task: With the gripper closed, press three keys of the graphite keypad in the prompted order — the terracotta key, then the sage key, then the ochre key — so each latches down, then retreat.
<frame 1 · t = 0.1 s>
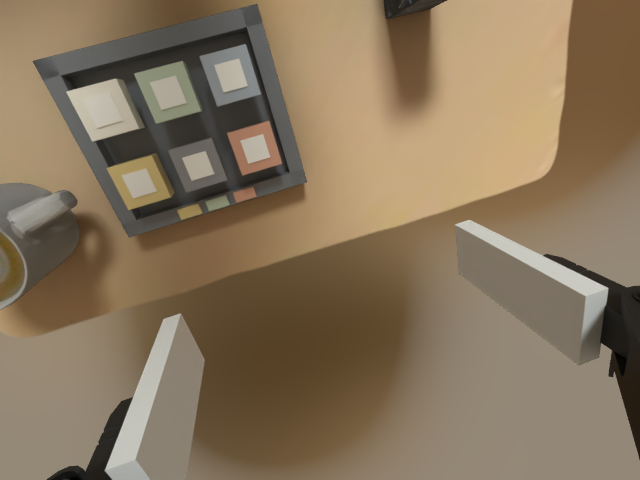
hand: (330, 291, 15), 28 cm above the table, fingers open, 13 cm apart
key sage: (170, 93, 32), point 4 cm above the table, slide at 0.0 cm
keypad board: (191, 128, 37), on the table
key ochre: (142, 181, 34), point 4 cm above the table, slide at 0.0 cm
coffee mug: (44, 220, 37), on the table
key cream: (107, 110, 31), point 4 cm above the table, slide at 0.0 cm
key charcoal: (199, 164, 35), point 4 cm above the table, slide at 0.0 cm
key terracotta: (255, 148, 35), point 4 cm above the table, slide at 0.0 cm
key slate: (231, 76, 32), point 4 cm above the table, slide at 0.0 cm
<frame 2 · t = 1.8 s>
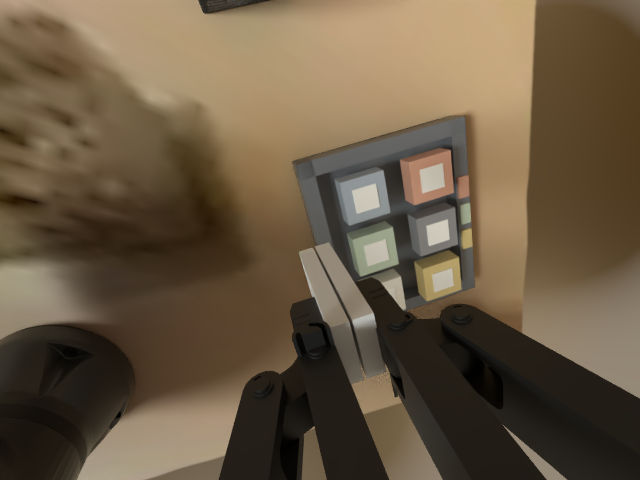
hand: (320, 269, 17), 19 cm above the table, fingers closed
key sage: (373, 249, 35), point 4 cm above the table, slide at 0.0 cm
keypad board: (388, 227, 39), on the table
key ochre: (438, 276, 38), point 4 cm above the table, slide at 0.0 cm
key cream: (382, 295, 38), point 4 cm above the table, slide at 0.0 cm
key charcoal: (433, 229, 36), point 4 cm above the table, slide at 0.0 cm
key terracotta: (427, 176, 34), point 4 cm above the table, slide at 0.0 cm
key slate: (362, 196, 33), point 4 cm above the table, slide at 0.0 cm
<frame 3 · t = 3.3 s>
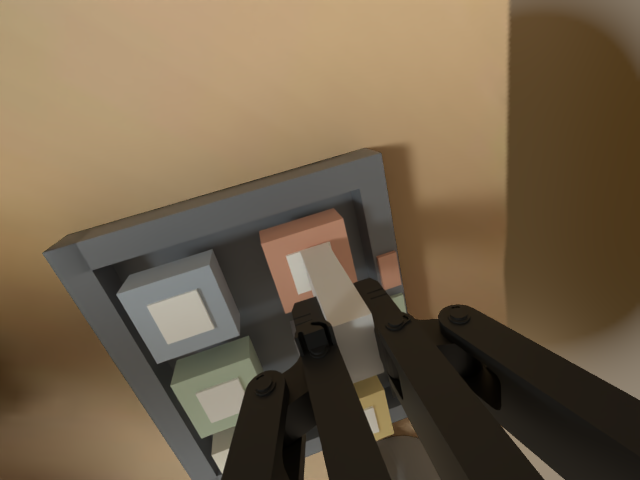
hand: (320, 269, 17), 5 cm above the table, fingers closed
key sage: (225, 387, 20), point 4 cm above the table, slide at 0.0 cm
keypad board: (275, 327, 24), on the table
key ochre: (354, 412, 23), point 4 cm above the table, slide at 0.0 cm
coffee mug: (381, 460, 32), on the table
key cream: (256, 450, 22), point 4 cm above the table, slide at 0.0 cm
key charcoal: (335, 347, 21), point 4 cm above the table, slide at 0.0 cm
key terracotta: (309, 260, 19), point 4 cm above the table, slide at 0.6 cm, touching gripper
key slate: (185, 306, 17), point 4 cm above the table, slide at 0.0 cm
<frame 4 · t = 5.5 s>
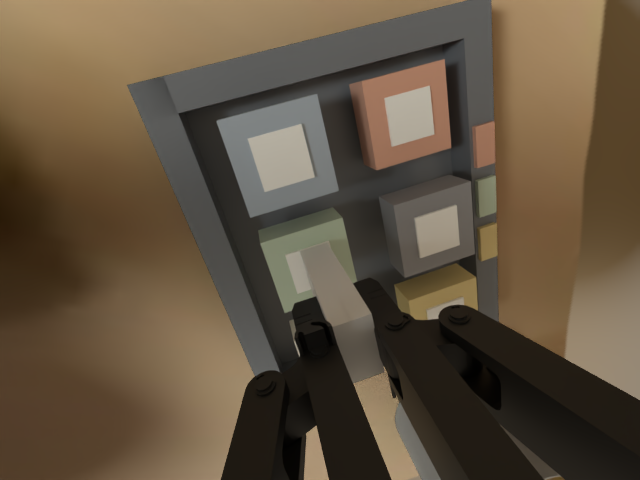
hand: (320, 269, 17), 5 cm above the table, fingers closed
key sage: (309, 259, 19), point 4 cm above the table, slide at 0.6 cm, touching gripper
keypad board: (348, 222, 22), on the table
key ochre: (437, 310, 21), point 4 cm above the table, slide at 0.0 cm
coffee mug: (440, 391, 31), on the table
key cream: (335, 347, 21), point 4 cm above the table, slide at 0.0 cm
key charcoal: (428, 225, 19), point 4 cm above the table, slide at 0.0 cm
key terracotta: (401, 116, 18), point 3 cm above the table, slide at 1.6 cm
key slate: (279, 155, 16), point 4 cm above the table, slide at 0.0 cm
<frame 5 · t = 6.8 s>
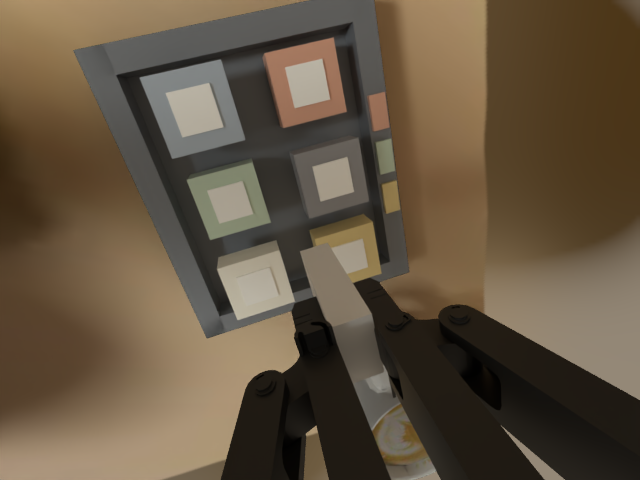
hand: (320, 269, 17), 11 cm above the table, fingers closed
key sage: (231, 198, 24), point 3 cm above the table, slide at 1.6 cm
keypad board: (275, 179, 26), on the table
key ochre: (346, 252, 25), point 4 cm above the table, slide at 0.0 cm
coffee mug: (370, 340, 35), on the table
key cream: (257, 280, 25), point 4 cm above the table, slide at 0.0 cm
key charcoal: (329, 176, 23), point 4 cm above the table, slide at 0.0 cm
key terracotta: (305, 85, 22), point 3 cm above the table, slide at 1.6 cm
key slate: (197, 110, 20), point 4 cm above the table, slide at 0.0 cm
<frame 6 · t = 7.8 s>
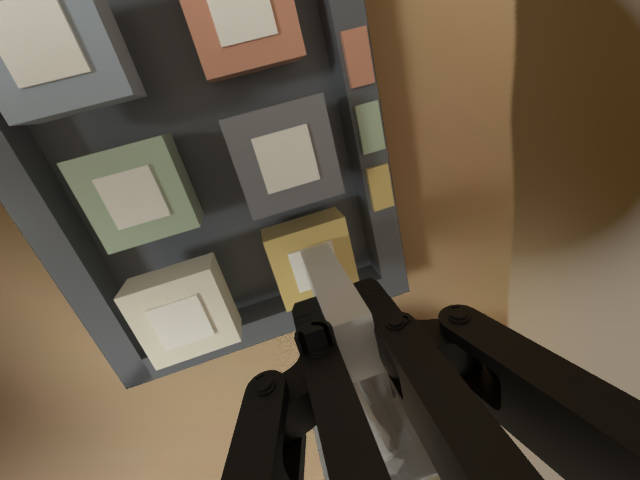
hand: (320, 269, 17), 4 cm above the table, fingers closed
key sage: (139, 192, 16), point 3 cm above the table, slide at 1.6 cm
keypad board: (215, 164, 18), on the table
key ochre: (311, 259, 19), point 3 cm above the table, slide at 1.2 cm
coffee mug: (361, 375, 27), on the table
key cream: (184, 311, 17), point 4 cm above the table, slide at 0.0 cm
key charcoal: (284, 156, 15), point 4 cm above the table, slide at 0.0 cm
key terracotta: (240, 13, 14), point 3 cm above the table, slide at 1.6 cm
key slate: (51, 46, 12), point 4 cm above the table, slide at 0.0 cm
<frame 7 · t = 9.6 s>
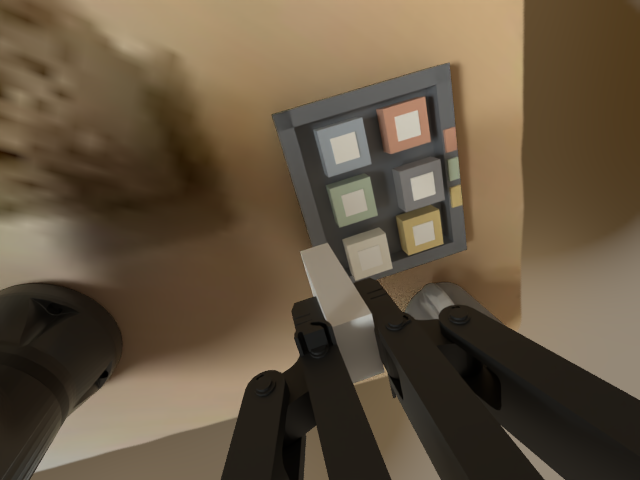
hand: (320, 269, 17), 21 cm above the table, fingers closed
key sage: (352, 200, 36), point 3 cm above the table, slide at 1.6 cm
keypad board: (374, 185, 38), on the table
key ochre: (419, 230, 39), point 3 cm above the table, slide at 1.6 cm
coffee mug: (433, 302, 47), on the table
key cream: (367, 254, 37), point 4 cm above the table, slide at 0.0 cm
key charcoal: (418, 184, 35), point 4 cm above the table, slide at 0.0 cm
key terracotta: (403, 125, 34), point 3 cm above the table, slide at 1.6 cm
key slate: (342, 147, 32), point 4 cm above the table, slide at 0.0 cm
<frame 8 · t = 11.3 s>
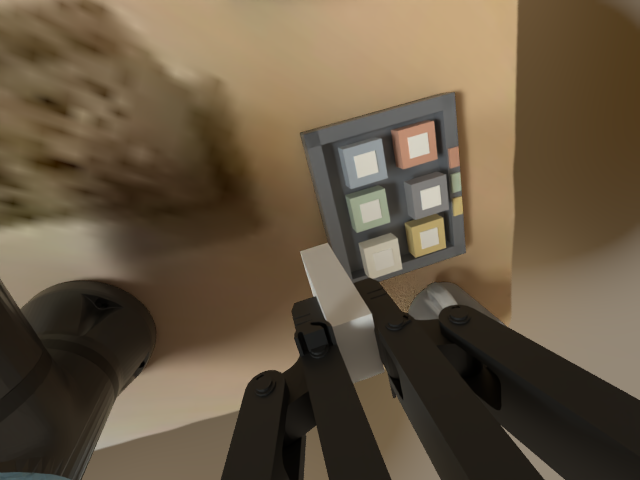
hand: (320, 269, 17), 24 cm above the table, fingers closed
key sage: (368, 208, 41), point 3 cm above the table, slide at 1.6 cm
keypad board: (386, 195, 43), on the table
key ochre: (425, 235, 44), point 3 cm above the table, slide at 1.6 cm
coffee mug: (434, 300, 52), on the table
key cream: (380, 256, 42), point 4 cm above the table, slide at 0.0 cm
key charcoal: (426, 195, 40), point 4 cm above the table, slide at 0.0 cm
key terracotta: (414, 144, 39), point 3 cm above the table, slide at 1.6 cm
key slate: (363, 163, 37), point 4 cm above the table, slide at 0.0 cm
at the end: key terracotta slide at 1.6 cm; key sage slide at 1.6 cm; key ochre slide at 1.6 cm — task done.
